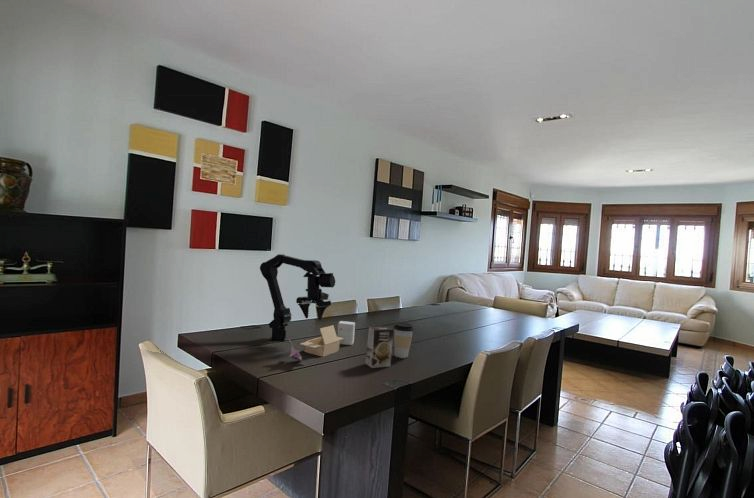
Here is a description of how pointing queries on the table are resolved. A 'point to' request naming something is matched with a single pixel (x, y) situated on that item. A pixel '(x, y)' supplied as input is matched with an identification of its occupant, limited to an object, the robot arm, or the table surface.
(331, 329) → the flap
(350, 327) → the small box
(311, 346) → the carton
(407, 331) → the coffee cup
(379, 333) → the coffee box
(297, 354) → the lily
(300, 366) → the table surface
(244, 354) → the table surface
